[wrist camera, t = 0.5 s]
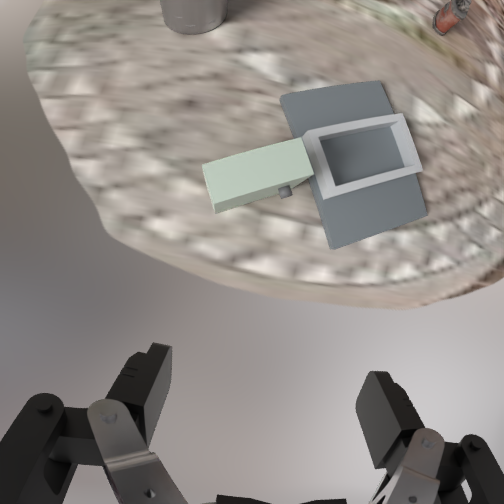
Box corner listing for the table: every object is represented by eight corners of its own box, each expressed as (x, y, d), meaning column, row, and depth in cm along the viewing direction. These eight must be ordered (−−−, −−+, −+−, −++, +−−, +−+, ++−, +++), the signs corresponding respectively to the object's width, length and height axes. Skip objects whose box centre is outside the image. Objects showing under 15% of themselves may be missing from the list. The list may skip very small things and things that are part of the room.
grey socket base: (279, 99, 37) (285, 86, 33) (375, 84, 38) (387, 73, 34) (329, 249, 38) (342, 250, 35) (421, 216, 40) (438, 214, 36)
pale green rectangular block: (206, 185, 37) (201, 164, 26) (278, 164, 37) (301, 137, 26) (217, 221, 37) (217, 215, 26) (289, 199, 38) (317, 184, 27)
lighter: (435, 8, 39) (461, -16, 29) (448, 19, 40) (475, -4, 30) (430, 28, 39) (459, 2, 29) (444, 39, 40) (474, 15, 30)
